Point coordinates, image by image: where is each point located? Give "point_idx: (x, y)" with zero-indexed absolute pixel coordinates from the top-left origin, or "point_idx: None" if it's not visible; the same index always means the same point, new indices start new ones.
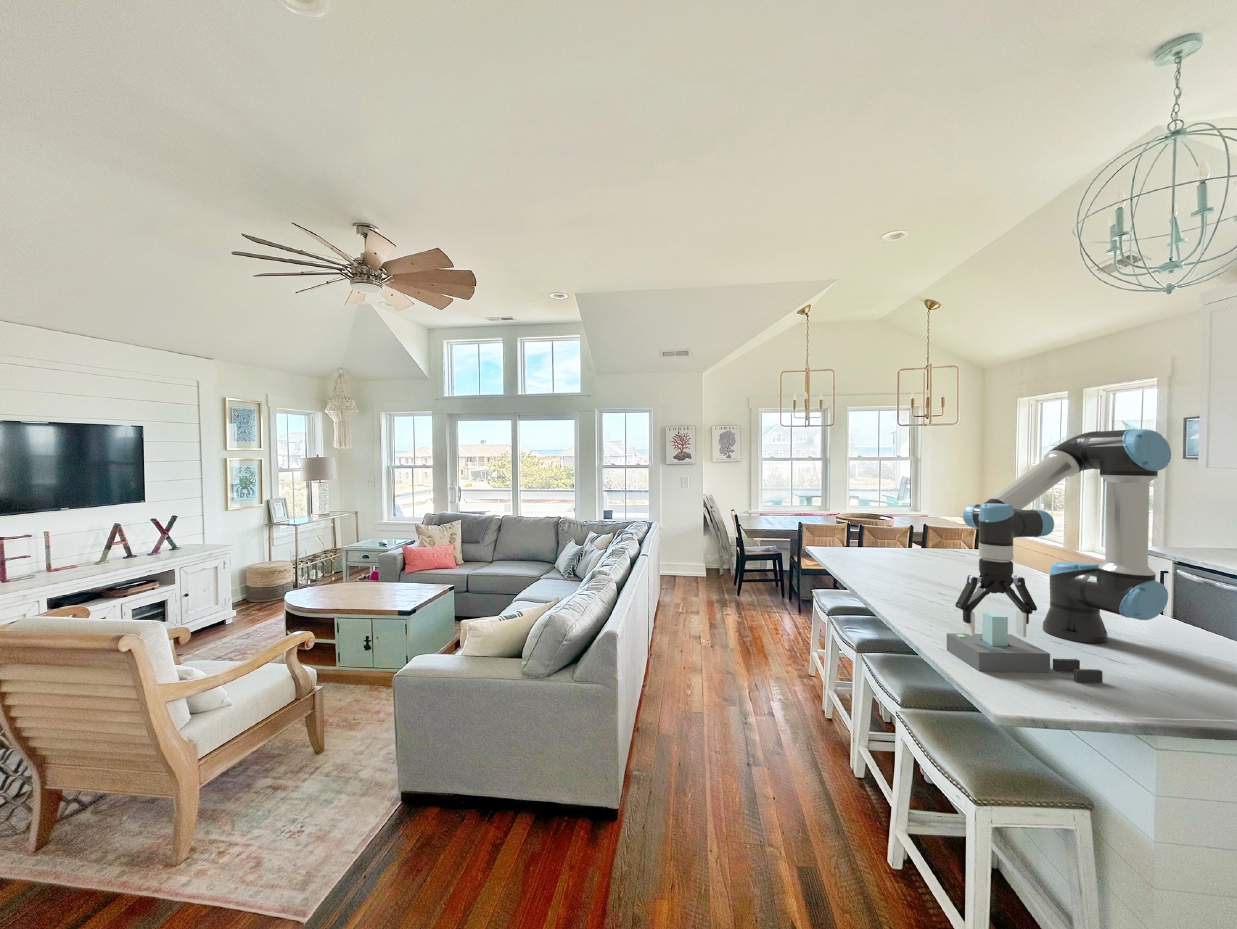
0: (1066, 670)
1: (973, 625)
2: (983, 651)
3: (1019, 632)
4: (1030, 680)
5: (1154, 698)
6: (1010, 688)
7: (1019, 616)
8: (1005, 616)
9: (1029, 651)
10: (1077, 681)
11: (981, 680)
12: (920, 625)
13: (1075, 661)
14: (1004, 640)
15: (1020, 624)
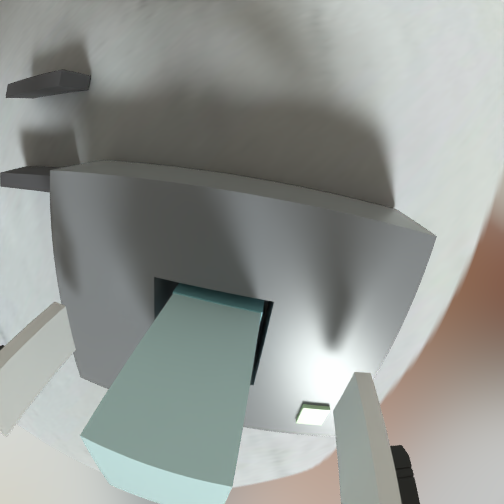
0: (51, 167)
1: (376, 429)
2: (401, 244)
3: (62, 338)
4: (241, 96)
5: (19, 26)
6: (396, 56)
7: (8, 400)
8: (93, 447)
9: (115, 202)
10: (86, 75)
11: (447, 141)
12: (239, 479)
13: (10, 172)
14: (180, 314)
15: (32, 363)
